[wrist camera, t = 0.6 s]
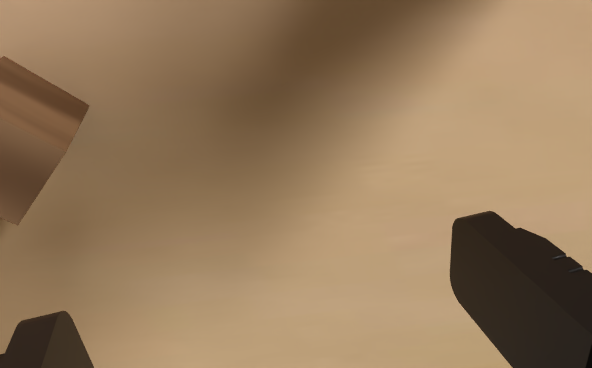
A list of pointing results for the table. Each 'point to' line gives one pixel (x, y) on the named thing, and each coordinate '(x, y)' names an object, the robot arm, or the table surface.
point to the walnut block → (31, 135)
